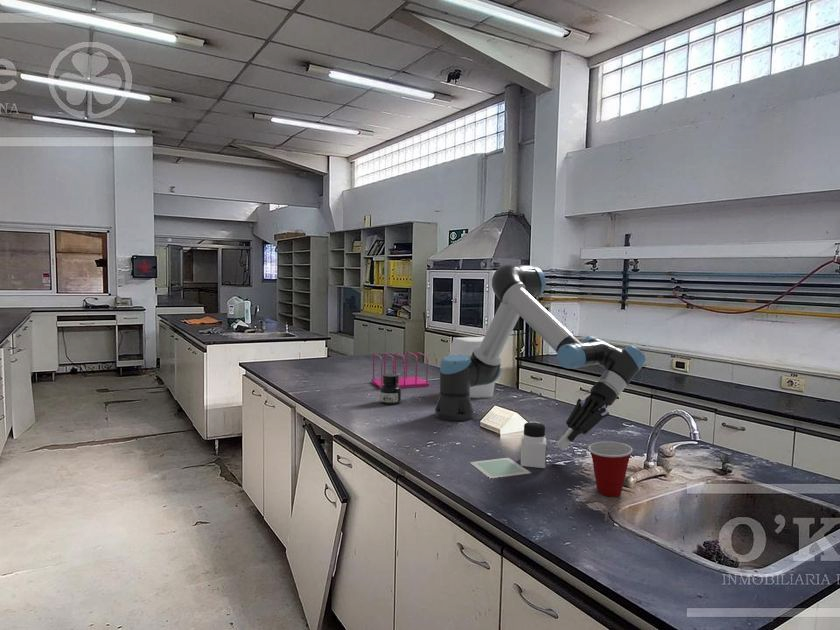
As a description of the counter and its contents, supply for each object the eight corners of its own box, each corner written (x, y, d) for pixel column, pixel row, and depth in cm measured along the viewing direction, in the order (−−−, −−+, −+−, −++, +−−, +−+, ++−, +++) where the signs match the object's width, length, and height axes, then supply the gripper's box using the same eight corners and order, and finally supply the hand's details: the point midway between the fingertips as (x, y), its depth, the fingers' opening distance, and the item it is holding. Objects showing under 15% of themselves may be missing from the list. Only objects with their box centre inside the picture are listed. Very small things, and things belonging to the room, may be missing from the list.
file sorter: (371, 382, 270) (371, 351, 269) (417, 379, 278) (418, 350, 277) (380, 389, 254) (380, 357, 252) (429, 386, 262) (429, 355, 261)
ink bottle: (375, 403, 226) (375, 375, 225) (384, 399, 235) (385, 372, 234) (396, 406, 223) (396, 377, 222) (405, 401, 231) (405, 374, 230)
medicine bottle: (545, 468, 153) (547, 427, 152) (520, 466, 155) (522, 425, 154) (545, 460, 160) (546, 421, 159) (520, 458, 162) (522, 419, 161)
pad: (489, 478, 145) (490, 478, 145) (469, 462, 158) (469, 462, 158) (531, 473, 150) (531, 472, 150) (508, 457, 162) (508, 457, 162)
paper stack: (505, 397, 241) (506, 340, 239) (448, 400, 234) (449, 342, 232) (487, 387, 261) (488, 335, 259) (434, 390, 254) (435, 336, 252)
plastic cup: (579, 484, 142) (581, 440, 141) (618, 483, 143) (620, 439, 142) (596, 501, 132) (598, 454, 131) (638, 500, 133) (640, 453, 132)
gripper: (629, 401, 160) (580, 462, 155) (600, 392, 172) (554, 448, 167) (615, 385, 157) (565, 446, 153) (587, 376, 170) (540, 433, 165)
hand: (560, 447), depth 160 cm, fingers closed
